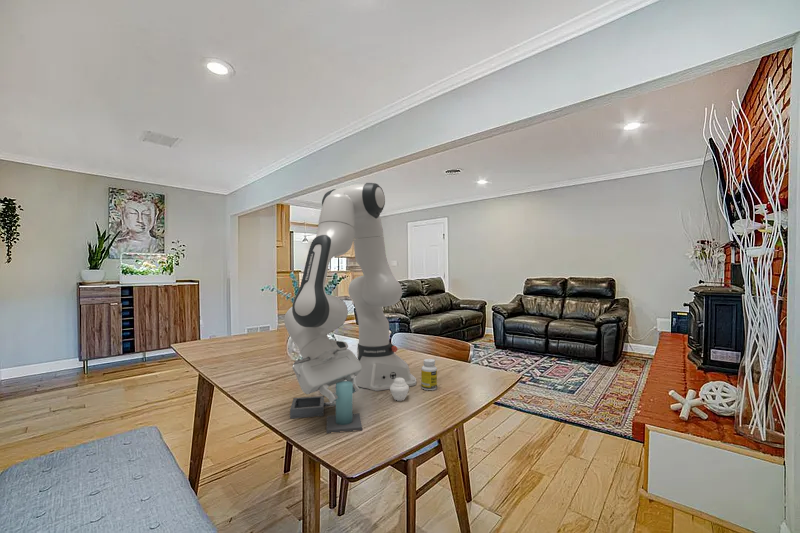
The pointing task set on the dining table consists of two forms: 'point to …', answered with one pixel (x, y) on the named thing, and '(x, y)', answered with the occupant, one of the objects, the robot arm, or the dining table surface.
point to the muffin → (399, 389)
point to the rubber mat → (335, 427)
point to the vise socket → (308, 411)
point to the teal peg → (344, 402)
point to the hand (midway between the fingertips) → (345, 396)
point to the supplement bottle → (429, 375)
